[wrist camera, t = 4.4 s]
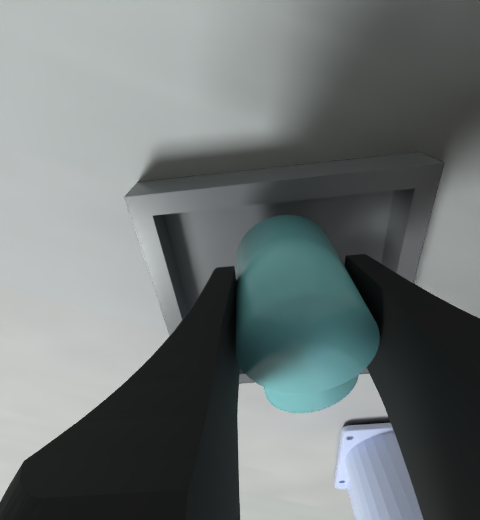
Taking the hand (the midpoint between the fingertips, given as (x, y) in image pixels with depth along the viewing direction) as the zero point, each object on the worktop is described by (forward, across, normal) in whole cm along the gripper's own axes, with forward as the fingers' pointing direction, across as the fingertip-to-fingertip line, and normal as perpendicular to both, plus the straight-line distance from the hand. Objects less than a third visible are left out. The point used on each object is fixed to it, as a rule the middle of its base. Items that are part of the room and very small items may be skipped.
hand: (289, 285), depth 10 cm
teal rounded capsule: (+2, 0, 0) cm, 2 cm away
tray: (+4, 0, +2) cm, 5 cm away
